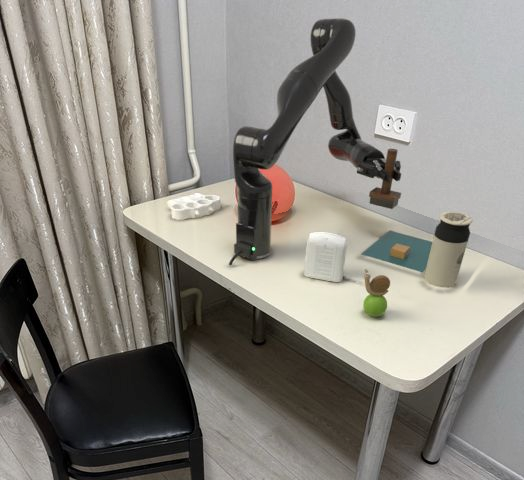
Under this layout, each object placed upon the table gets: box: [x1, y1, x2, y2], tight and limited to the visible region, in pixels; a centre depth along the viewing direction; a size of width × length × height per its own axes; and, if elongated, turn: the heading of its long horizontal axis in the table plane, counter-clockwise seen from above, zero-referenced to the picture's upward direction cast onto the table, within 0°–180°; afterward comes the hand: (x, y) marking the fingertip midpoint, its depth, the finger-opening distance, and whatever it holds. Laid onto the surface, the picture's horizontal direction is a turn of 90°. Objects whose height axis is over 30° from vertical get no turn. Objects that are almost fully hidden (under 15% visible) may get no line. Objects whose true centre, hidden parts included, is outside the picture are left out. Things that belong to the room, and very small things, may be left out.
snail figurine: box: [362, 268, 391, 317], centre depth 113 cm, size 5×6×12 cm
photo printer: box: [303, 231, 348, 283], centre depth 127 cm, size 10×4×12 cm, turn 73°
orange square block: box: [390, 244, 410, 259], centre depth 138 cm, size 4×4×2 cm
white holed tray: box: [166, 192, 222, 221], centre depth 164 cm, size 3×18×15 cm
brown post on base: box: [368, 148, 402, 210], centre depth 137 cm, size 5×8×15 cm, turn 55°
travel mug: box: [423, 211, 473, 288], centre depth 123 cm, size 8×8×18 cm
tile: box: [361, 229, 433, 273], centre depth 142 cm, size 20×18×1 cm
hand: (393, 177), depth 134 cm, fingers closed on brown post on base, 2 cm apart
